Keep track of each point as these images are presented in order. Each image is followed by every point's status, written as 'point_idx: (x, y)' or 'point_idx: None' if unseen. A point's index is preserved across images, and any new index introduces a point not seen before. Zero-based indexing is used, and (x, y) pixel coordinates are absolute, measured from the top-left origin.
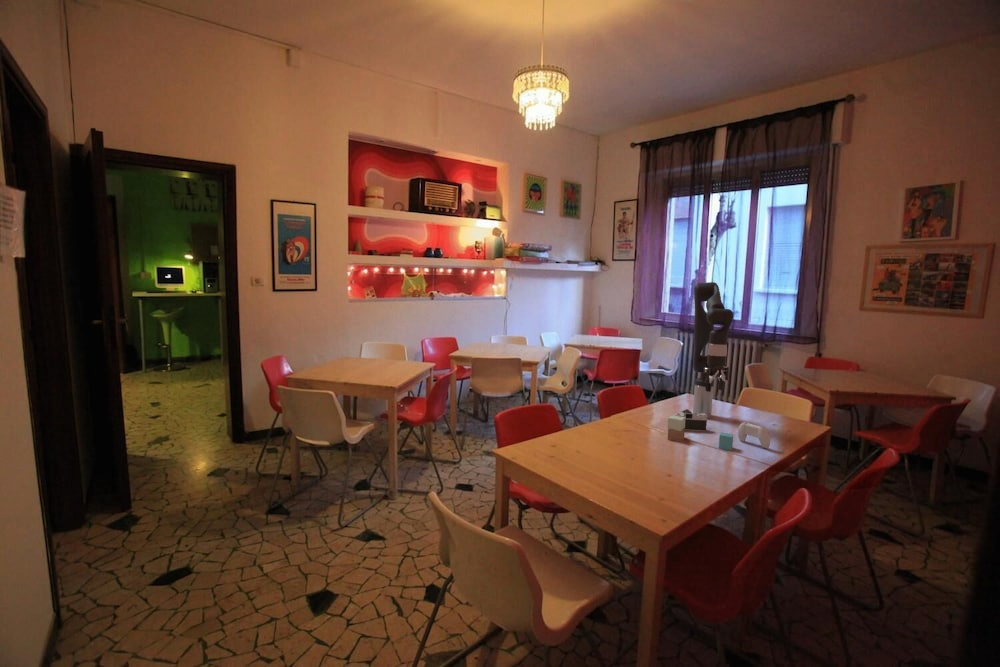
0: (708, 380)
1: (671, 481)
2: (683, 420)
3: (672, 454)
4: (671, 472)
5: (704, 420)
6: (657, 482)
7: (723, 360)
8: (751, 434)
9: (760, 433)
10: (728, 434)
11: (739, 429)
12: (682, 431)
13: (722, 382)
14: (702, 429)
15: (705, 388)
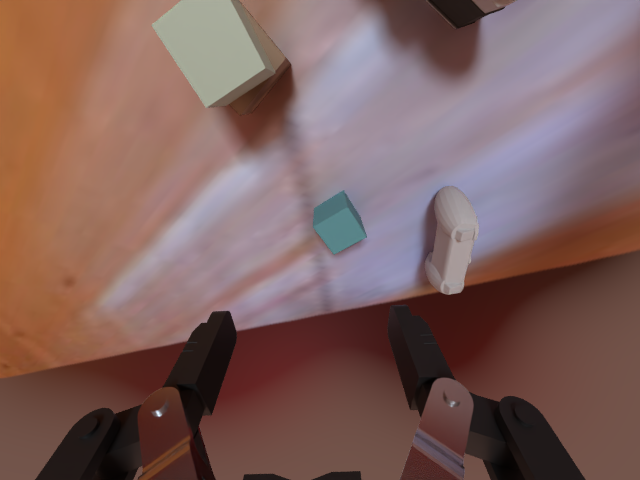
0: (133, 466)
1: (63, 300)
2: (237, 88)
3: (138, 194)
4: (80, 274)
5: (480, 10)
6: (30, 295)
7: None
8: (435, 246)
9: (432, 279)
10: (348, 232)
11: (442, 211)
12: (233, 108)
13: (411, 399)
14: (450, 20)
15: (191, 335)
